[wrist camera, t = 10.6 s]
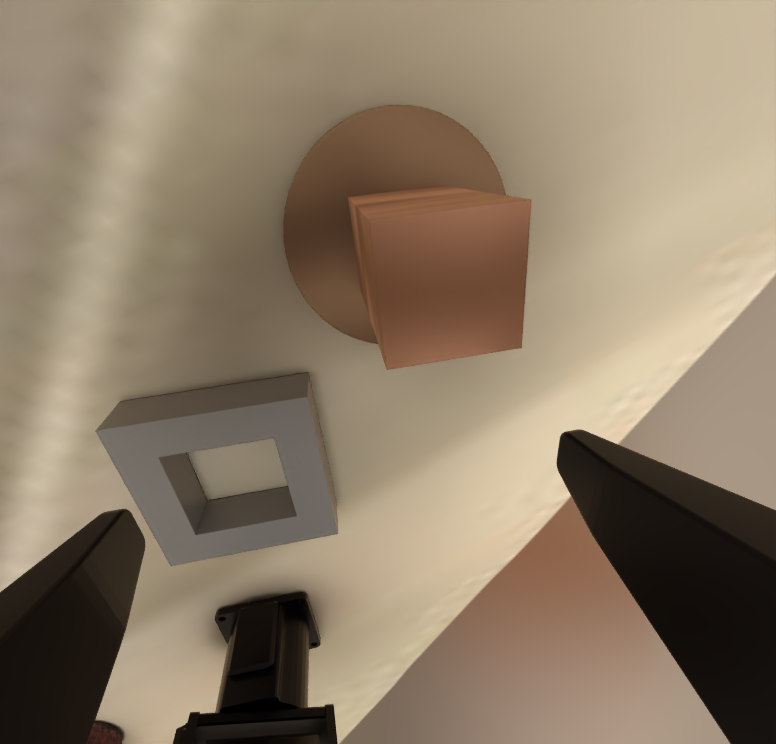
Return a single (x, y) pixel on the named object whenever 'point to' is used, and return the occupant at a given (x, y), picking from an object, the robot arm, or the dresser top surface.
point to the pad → (362, 177)
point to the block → (442, 271)
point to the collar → (217, 429)
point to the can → (104, 734)
